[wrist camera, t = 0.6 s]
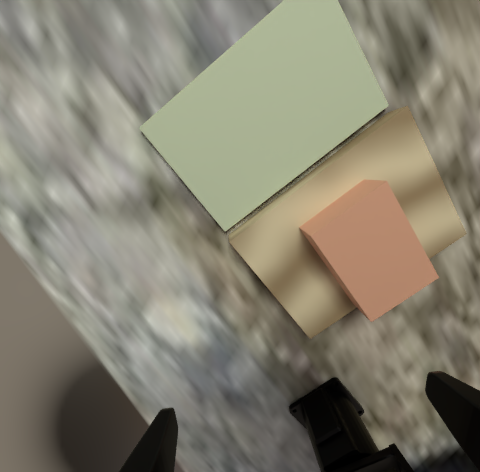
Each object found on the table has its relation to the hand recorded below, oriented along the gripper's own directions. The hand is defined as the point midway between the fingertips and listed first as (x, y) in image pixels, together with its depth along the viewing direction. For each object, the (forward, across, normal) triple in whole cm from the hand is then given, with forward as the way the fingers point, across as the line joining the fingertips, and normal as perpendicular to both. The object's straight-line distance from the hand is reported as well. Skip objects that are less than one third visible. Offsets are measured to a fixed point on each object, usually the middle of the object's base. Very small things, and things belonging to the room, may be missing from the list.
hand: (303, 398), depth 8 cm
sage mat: (+13, -2, -12) cm, 17 cm away
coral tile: (+11, -8, -1) cm, 14 cm away
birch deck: (+13, -8, -2) cm, 16 cm away
